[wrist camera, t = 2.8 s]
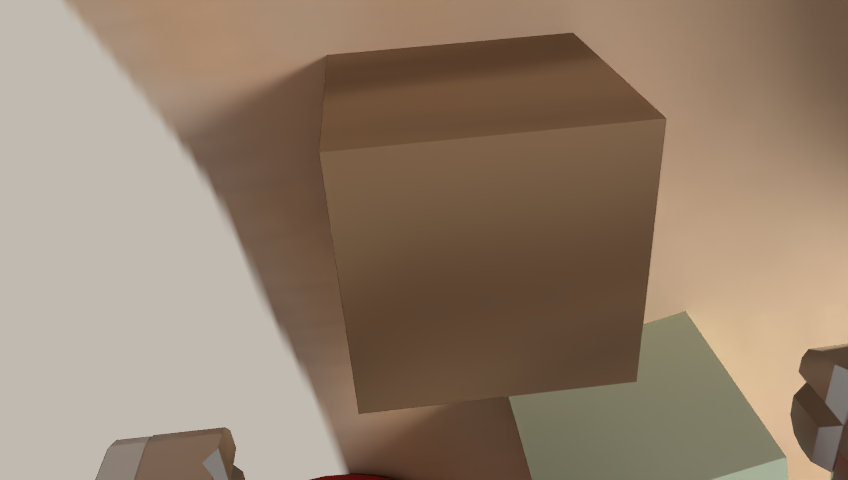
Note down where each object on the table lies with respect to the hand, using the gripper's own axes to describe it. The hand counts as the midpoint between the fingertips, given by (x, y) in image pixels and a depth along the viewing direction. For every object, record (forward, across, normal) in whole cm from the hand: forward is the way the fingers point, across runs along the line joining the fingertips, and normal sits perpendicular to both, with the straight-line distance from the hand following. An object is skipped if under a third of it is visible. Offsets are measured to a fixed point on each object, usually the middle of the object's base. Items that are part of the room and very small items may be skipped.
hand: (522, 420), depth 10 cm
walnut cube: (+7, 0, -1) cm, 7 cm away
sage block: (+7, -4, +7) cm, 11 cm away
